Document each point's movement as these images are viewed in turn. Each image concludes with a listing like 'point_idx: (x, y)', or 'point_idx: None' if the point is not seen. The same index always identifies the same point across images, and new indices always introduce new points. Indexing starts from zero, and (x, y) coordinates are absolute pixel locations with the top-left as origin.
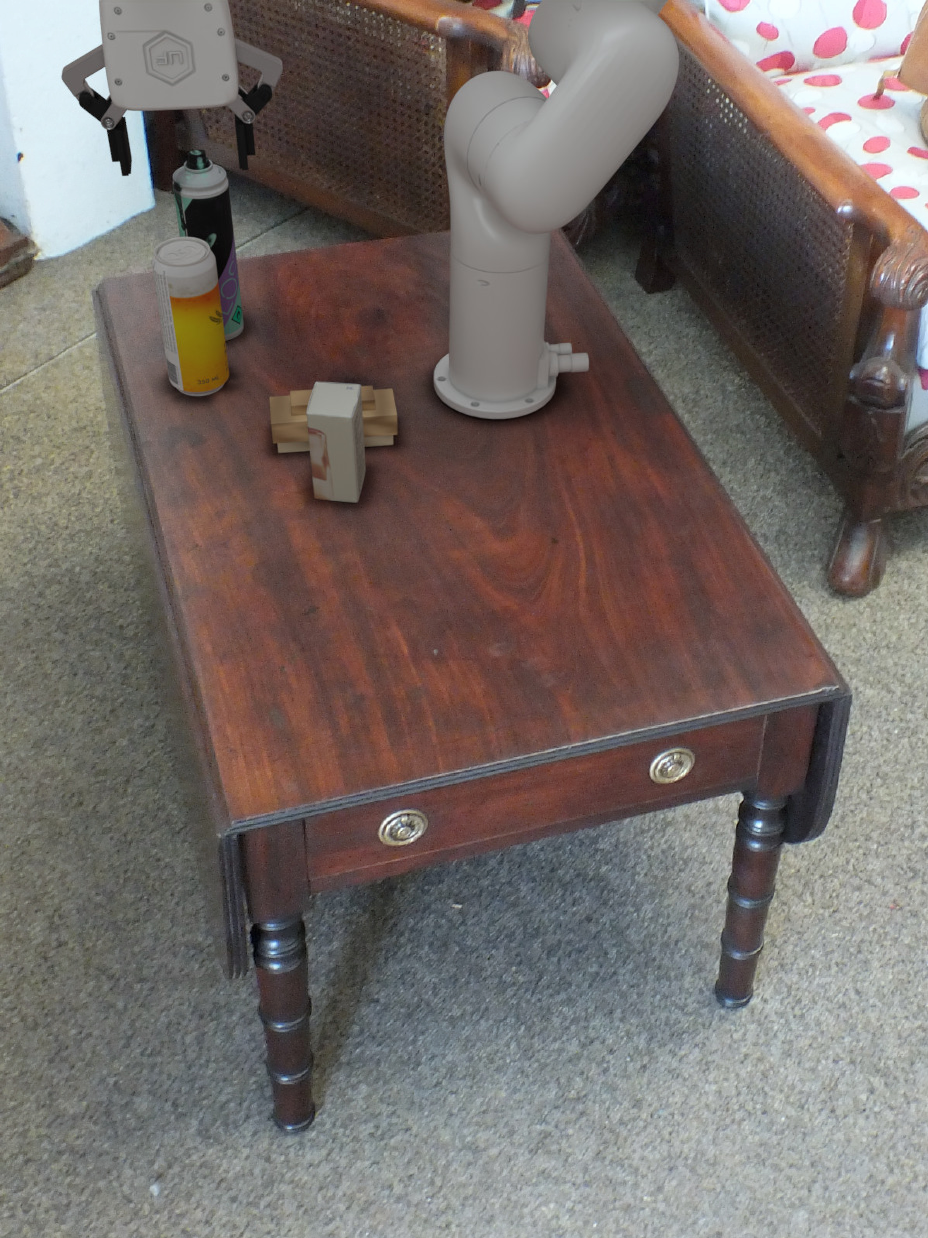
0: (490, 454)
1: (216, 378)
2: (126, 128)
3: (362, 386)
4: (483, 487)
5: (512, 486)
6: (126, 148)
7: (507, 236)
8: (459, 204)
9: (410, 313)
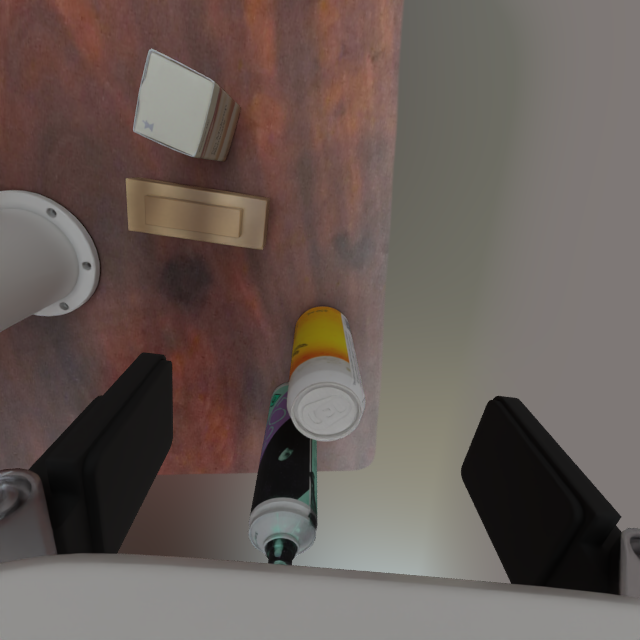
0: (43, 134)
1: (308, 313)
2: (508, 553)
3: (156, 224)
4: (53, 72)
5: (18, 64)
6: (536, 456)
7: None
8: None
9: None
